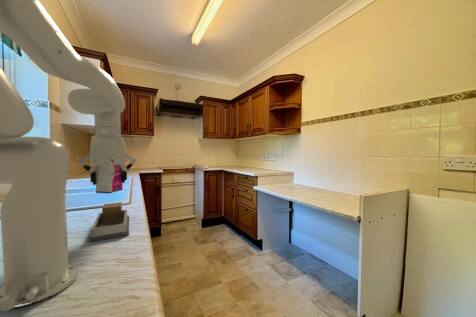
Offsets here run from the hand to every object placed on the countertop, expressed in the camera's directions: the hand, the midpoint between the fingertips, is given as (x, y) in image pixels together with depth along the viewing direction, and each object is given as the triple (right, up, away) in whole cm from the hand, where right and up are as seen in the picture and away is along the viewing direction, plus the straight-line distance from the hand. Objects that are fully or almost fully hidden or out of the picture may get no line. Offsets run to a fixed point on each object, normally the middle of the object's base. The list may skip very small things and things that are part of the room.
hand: (109, 183), depth 70 cm
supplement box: (0, -3, 0) cm, 3 cm away
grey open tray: (-1, -17, +4) cm, 18 cm away
